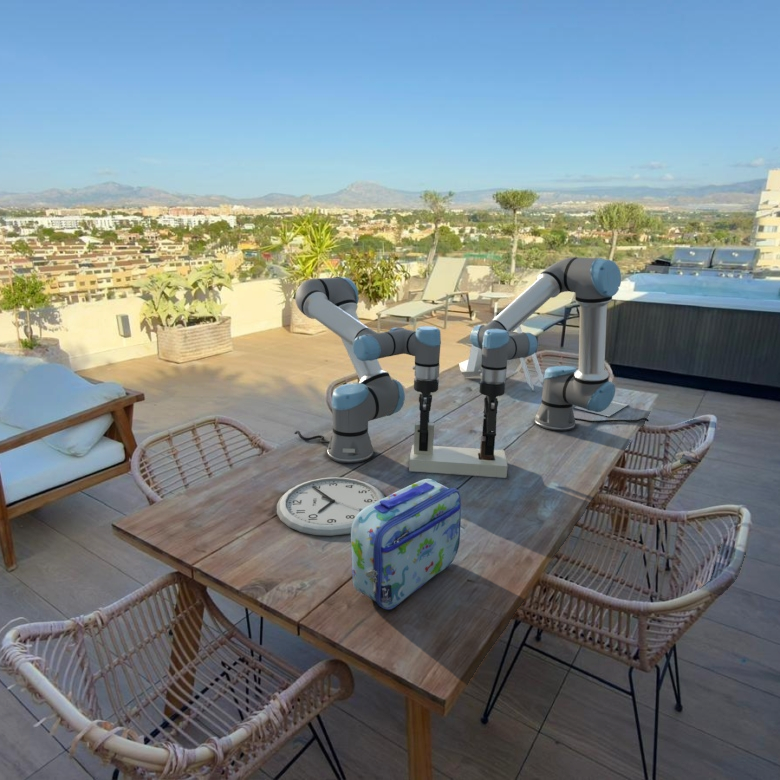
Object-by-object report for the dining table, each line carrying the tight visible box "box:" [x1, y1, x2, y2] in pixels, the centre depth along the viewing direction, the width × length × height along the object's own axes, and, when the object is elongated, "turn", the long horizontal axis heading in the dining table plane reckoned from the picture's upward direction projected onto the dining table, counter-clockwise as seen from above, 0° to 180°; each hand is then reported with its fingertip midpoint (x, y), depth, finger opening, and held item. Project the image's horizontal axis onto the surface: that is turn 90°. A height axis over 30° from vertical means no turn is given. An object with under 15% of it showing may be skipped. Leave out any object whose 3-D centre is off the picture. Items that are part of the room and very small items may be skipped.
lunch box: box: [350, 478, 462, 611], centre depth 110 cm, size 26×11×21 cm, turn 135°
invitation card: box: [573, 400, 629, 418], centre depth 226 cm, size 21×1×15 cm
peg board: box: [408, 420, 509, 479], centre depth 166 cm, size 30×12×14 cm, turn 83°
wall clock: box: [276, 476, 386, 537], centre depth 142 cm, size 30×2×30 cm
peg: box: [479, 435, 496, 460], centre depth 165 cm, size 4×4×10 cm
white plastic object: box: [458, 325, 544, 391], centre depth 258 cm, size 37×45×31 cm
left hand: (423, 448), depth 167 cm, fingers closed on peg board, 3 cm apart
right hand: (487, 445), depth 164 cm, fingers open, 13 cm apart
